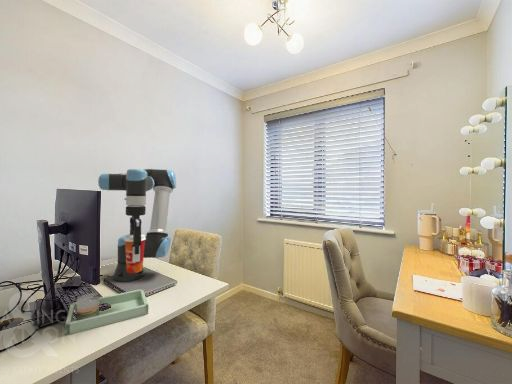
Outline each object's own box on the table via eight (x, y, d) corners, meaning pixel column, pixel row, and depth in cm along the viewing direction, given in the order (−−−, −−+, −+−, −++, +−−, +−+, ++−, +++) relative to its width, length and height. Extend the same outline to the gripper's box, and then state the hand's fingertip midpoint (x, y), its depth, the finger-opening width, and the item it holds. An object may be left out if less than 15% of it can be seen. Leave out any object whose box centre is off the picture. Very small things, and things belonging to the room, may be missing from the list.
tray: (70, 314, 92) (70, 303, 92) (142, 298, 106) (142, 288, 106) (65, 338, 79) (65, 325, 79) (148, 316, 93) (148, 305, 93)
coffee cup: (120, 270, 99) (121, 235, 99) (140, 265, 105) (141, 233, 105) (127, 276, 93) (128, 239, 93) (148, 271, 99) (149, 236, 99)
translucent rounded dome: (77, 315, 90) (77, 295, 89) (99, 310, 94) (99, 291, 93) (75, 325, 84) (75, 304, 83) (99, 320, 88) (99, 299, 87)
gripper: (123, 203, 105) (122, 253, 105) (128, 208, 88) (127, 267, 88) (141, 203, 109) (140, 251, 110) (150, 207, 92) (148, 264, 92)
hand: (134, 258), depth 99 cm, fingers closed on coffee cup, 8 cm apart
